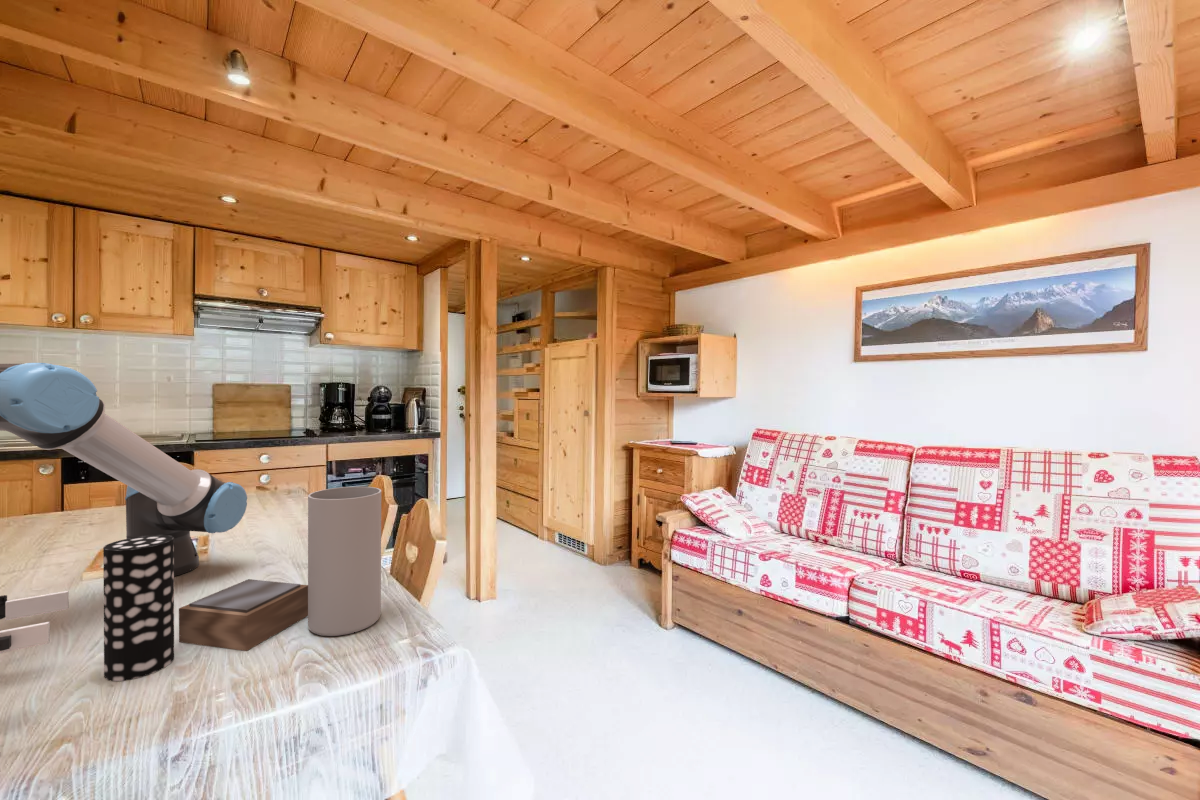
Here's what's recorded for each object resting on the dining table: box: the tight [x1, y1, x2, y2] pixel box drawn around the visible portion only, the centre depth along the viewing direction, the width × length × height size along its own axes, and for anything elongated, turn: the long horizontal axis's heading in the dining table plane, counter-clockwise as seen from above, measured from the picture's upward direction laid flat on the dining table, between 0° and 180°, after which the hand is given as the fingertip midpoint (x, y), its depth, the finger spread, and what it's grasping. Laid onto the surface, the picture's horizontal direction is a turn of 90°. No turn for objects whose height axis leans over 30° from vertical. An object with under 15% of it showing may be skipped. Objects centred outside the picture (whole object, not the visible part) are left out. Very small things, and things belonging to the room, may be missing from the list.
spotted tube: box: [102, 535, 175, 682], centre depth 81 cm, size 8×8×20 cm
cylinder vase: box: [307, 486, 382, 637], centre depth 97 cm, size 12×12×25 cm
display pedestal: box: [178, 578, 308, 652], centre depth 94 cm, size 14×14×6 cm
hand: (59, 614), depth 75 cm, fingers open, 13 cm apart
